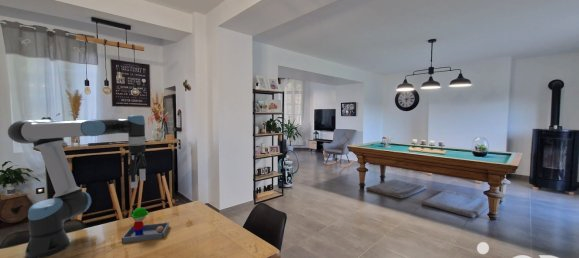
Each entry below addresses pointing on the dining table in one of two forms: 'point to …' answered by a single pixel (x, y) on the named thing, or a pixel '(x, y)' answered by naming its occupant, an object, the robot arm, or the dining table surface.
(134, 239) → the tray
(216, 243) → the dining table surface
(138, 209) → the toy
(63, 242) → the robot arm
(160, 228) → the ball
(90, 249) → the dining table surface
